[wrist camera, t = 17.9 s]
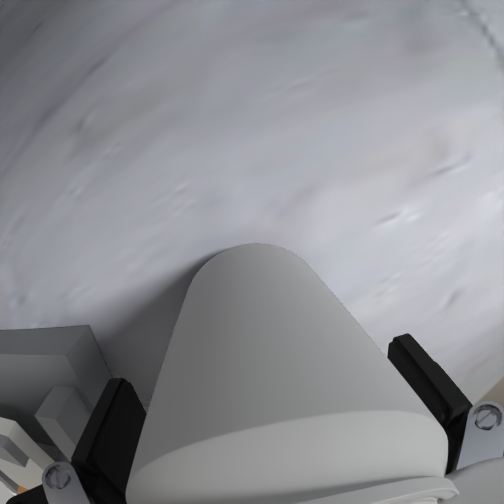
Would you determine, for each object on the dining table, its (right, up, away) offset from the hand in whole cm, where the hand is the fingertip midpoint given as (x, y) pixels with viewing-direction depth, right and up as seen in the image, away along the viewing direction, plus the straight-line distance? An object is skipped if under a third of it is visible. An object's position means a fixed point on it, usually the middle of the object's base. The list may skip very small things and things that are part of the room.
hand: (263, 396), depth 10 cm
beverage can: (0, +3, +5) cm, 5 cm away
